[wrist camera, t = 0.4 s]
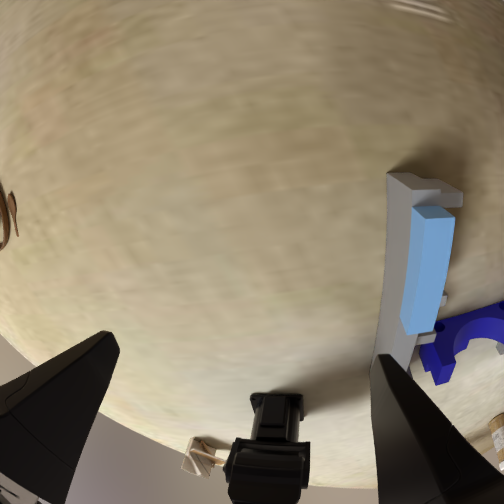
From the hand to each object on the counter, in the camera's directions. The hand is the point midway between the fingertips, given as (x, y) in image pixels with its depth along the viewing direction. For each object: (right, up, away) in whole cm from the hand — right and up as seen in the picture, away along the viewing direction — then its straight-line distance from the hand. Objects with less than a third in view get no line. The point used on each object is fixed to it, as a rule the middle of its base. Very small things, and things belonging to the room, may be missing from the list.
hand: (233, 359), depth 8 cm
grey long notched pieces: (+22, 0, +12) cm, 25 cm away
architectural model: (-8, -32, +34) cm, 47 cm away
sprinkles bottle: (+53, -33, +24) cm, 67 cm away
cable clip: (+24, -5, +15) cm, 29 cm away
